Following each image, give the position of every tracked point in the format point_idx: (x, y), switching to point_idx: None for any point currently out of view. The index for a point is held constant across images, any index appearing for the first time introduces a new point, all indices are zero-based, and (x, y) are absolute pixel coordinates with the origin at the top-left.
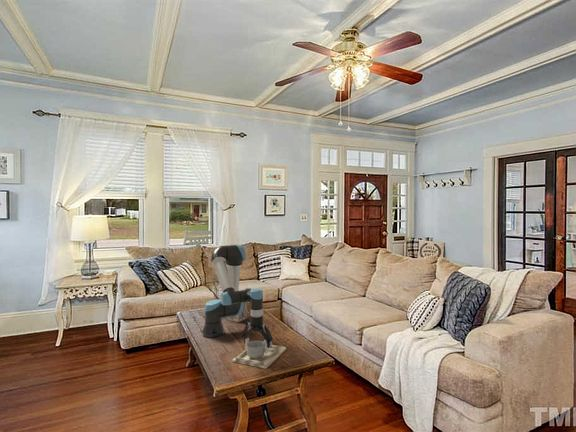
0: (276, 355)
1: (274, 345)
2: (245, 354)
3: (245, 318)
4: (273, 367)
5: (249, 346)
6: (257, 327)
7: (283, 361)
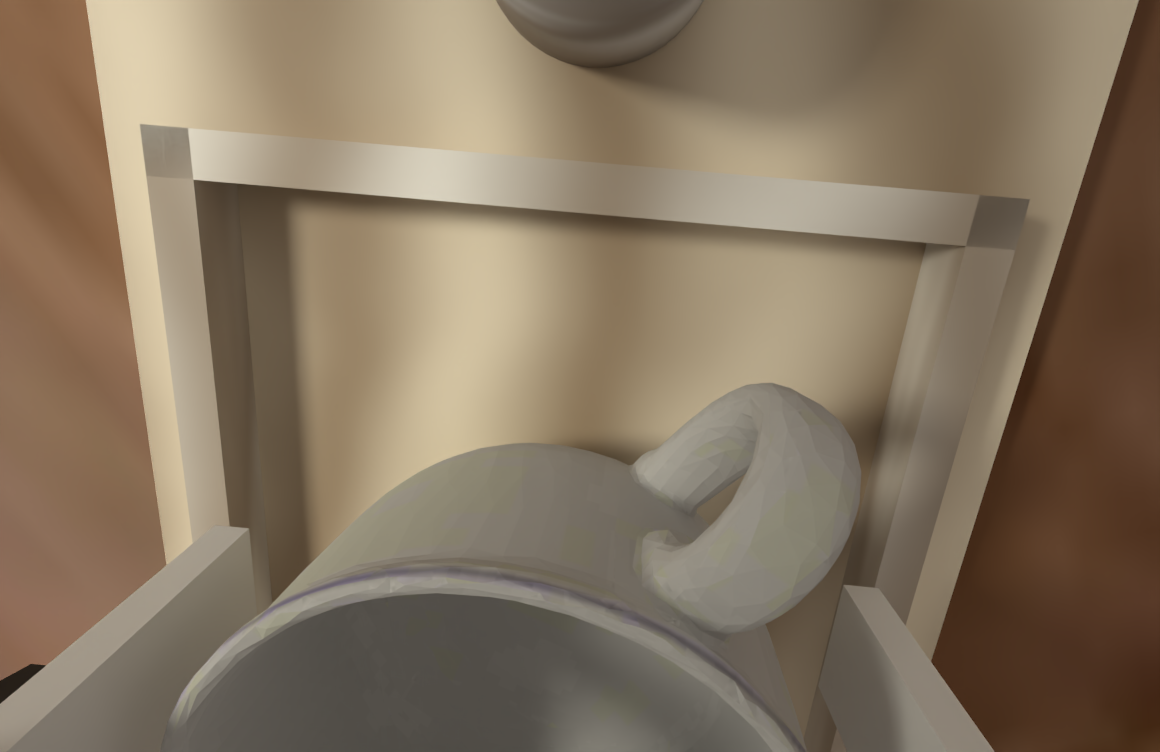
0: (987, 396)
1: None
2: (282, 538)
3: None
4: None
5: (273, 675)
6: None
7: (1144, 506)
